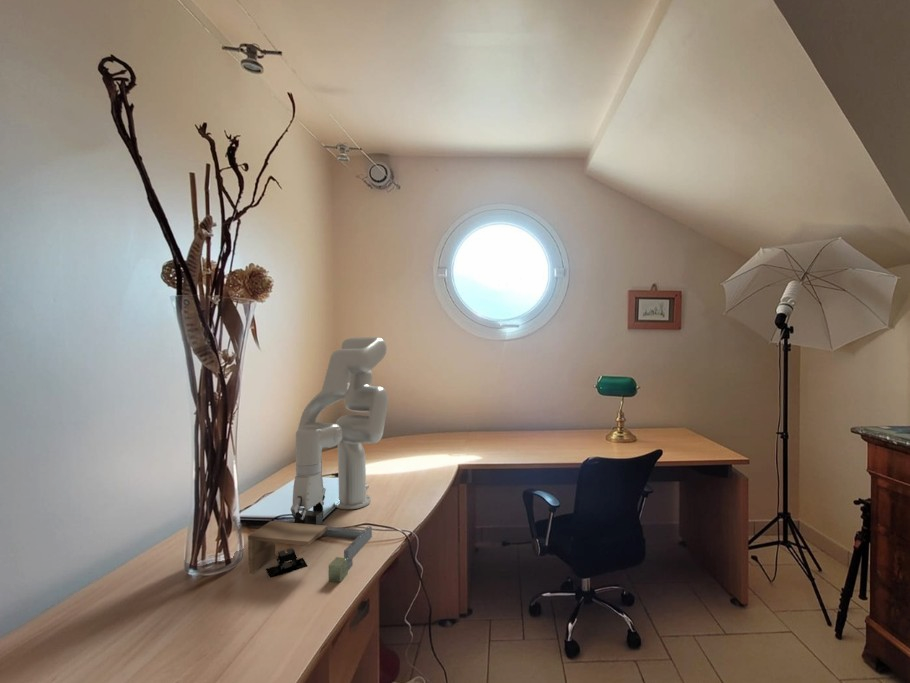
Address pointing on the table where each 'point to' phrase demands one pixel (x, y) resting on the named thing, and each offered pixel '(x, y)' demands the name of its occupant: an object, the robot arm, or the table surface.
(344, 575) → the pale green block
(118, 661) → the table surface
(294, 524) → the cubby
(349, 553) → the grey angular bent frame
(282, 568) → the black phone stand
